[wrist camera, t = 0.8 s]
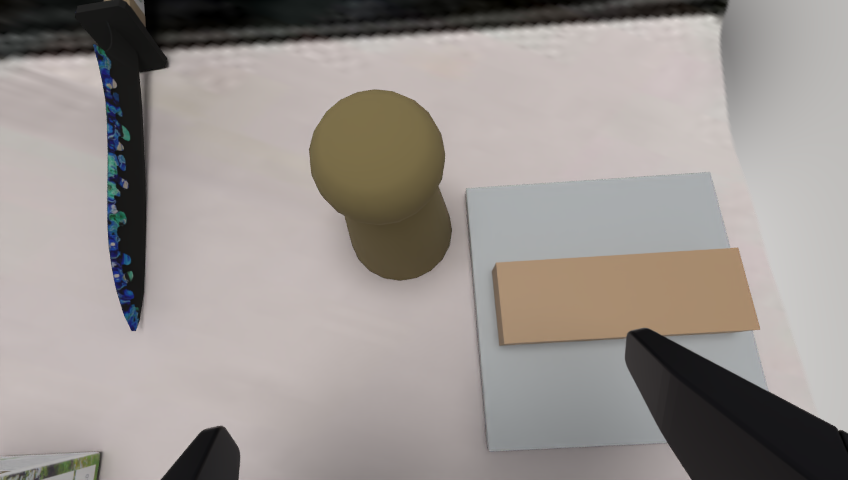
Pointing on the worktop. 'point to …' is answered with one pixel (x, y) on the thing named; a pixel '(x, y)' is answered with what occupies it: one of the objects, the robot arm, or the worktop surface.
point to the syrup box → (50, 466)
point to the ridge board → (589, 369)
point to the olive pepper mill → (384, 181)
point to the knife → (124, 136)
